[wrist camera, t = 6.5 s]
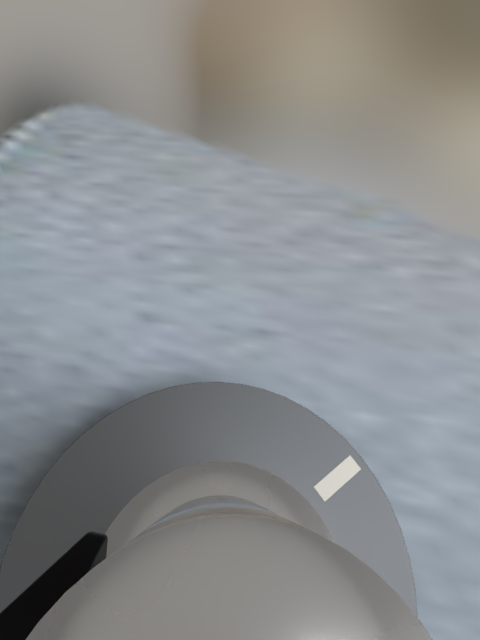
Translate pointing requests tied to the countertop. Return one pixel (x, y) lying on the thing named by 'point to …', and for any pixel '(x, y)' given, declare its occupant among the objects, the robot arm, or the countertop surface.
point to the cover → (226, 569)
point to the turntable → (196, 447)
